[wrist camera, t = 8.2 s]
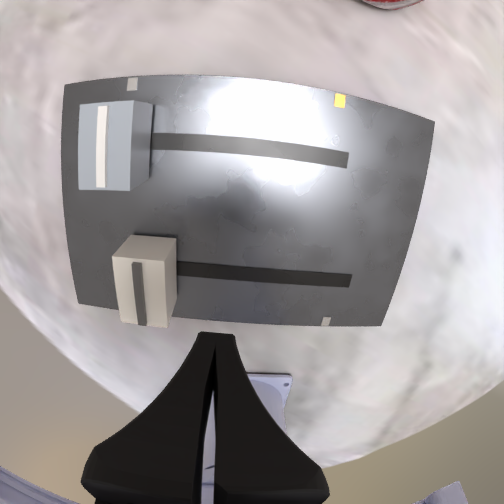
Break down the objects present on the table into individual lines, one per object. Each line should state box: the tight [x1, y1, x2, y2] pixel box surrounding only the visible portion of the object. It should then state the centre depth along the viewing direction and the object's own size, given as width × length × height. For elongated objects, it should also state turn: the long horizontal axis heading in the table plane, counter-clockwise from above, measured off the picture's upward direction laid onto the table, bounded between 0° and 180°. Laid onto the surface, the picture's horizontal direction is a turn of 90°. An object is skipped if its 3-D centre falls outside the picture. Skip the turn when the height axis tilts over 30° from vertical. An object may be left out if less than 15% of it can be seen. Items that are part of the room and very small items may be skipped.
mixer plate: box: [61, 75, 435, 326], centre depth 18 cm, size 16×24×1 cm, turn 84°
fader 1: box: [78, 100, 153, 191], centre depth 14 cm, size 4×3×4 cm
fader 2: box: [112, 235, 177, 328], centre depth 17 cm, size 4×3×4 cm
